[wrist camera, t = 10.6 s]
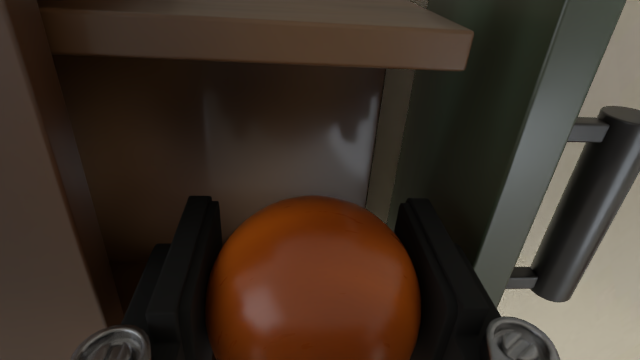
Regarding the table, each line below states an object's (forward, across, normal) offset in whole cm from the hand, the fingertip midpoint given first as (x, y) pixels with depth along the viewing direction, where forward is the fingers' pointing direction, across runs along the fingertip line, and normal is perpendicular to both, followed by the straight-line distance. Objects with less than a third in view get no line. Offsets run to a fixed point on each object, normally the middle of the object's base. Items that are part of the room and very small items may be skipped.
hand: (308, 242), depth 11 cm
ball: (0, 0, 0) cm, 0 cm away
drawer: (+6, -1, 0) cm, 6 cm away
